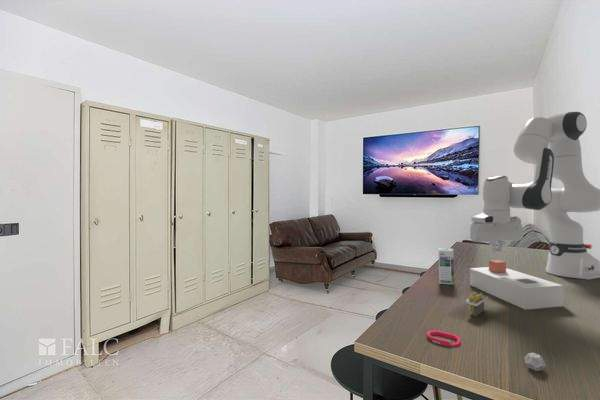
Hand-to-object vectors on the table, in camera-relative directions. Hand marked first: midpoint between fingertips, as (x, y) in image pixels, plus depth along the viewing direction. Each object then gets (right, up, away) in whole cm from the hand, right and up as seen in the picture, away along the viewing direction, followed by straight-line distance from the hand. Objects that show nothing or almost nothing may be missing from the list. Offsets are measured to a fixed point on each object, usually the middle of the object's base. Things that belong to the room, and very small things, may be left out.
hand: (497, 252), depth 115 cm
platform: (-21, -16, -21) cm, 34 cm away
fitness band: (-39, -17, -37) cm, 57 cm away
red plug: (0, -9, 0) cm, 9 cm away
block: (+1, -15, -6) cm, 16 cm away
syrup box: (-15, -15, +10) cm, 23 cm away
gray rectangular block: (+2, -13, -13) cm, 18 cm away
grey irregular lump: (-26, -17, -51) cm, 59 cm away
